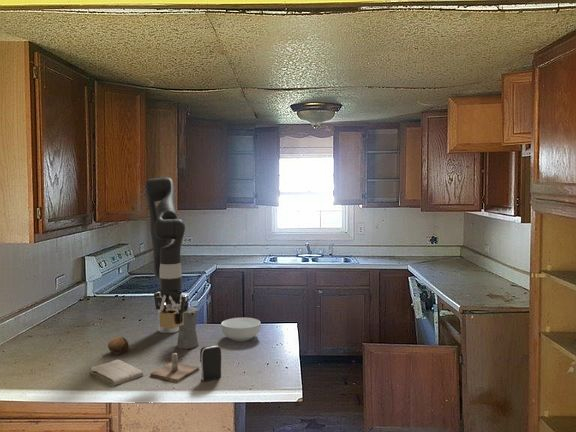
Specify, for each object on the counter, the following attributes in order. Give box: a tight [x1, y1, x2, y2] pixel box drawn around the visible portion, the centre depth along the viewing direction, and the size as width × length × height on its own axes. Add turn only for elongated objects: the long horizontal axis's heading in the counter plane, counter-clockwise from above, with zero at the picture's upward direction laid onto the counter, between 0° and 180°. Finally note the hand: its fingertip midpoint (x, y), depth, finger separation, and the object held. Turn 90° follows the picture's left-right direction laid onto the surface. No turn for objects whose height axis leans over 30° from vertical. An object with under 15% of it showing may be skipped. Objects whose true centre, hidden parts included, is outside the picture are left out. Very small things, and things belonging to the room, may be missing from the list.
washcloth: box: [89, 359, 144, 386], centre depth 179 cm, size 12×18×3 cm, turn 49°
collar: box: [158, 309, 184, 329], centre depth 179 cm, size 6×6×5 cm
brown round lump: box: [107, 336, 129, 355], centre depth 202 cm, size 8×8×6 cm
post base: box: [150, 352, 200, 383], centre depth 180 cm, size 12×12×7 cm
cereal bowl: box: [220, 317, 261, 342], centre depth 218 cm, size 17×17×7 cm
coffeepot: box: [176, 302, 199, 350], centre depth 210 cm, size 15×9×18 cm, turn 33°
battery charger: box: [199, 344, 222, 382], centre depth 176 cm, size 7×4×11 cm, turn 121°
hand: (171, 322), depth 179 cm, fingers closed on collar, 6 cm apart
